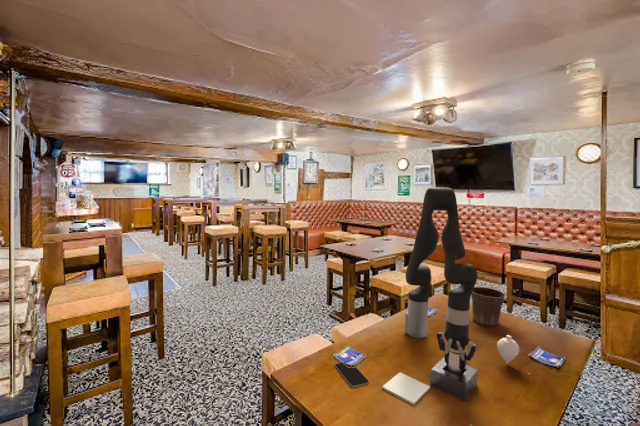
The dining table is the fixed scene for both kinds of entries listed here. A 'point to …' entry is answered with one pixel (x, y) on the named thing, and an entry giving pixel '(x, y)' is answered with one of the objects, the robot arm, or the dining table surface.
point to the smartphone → (352, 375)
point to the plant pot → (486, 305)
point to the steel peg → (454, 361)
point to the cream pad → (406, 388)
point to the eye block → (454, 380)
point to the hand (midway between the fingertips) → (454, 365)
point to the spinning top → (508, 348)
